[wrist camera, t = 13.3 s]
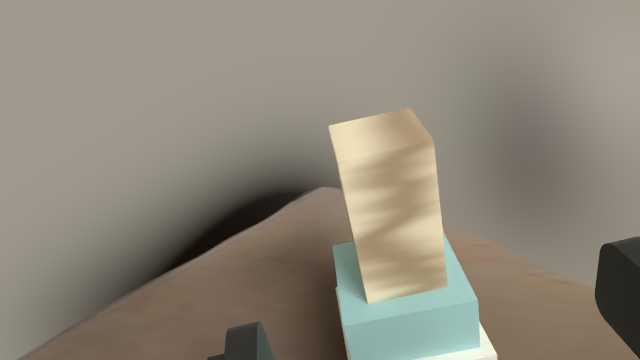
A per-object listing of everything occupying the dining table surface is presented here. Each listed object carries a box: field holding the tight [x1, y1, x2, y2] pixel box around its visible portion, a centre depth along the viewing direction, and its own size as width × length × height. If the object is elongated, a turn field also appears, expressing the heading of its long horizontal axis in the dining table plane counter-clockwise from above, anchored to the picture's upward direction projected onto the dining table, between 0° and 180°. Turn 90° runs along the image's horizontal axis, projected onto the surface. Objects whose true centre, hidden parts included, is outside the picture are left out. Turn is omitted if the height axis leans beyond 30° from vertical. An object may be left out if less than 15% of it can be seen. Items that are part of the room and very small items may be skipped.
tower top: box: [333, 232, 480, 360], centre depth 31 cm, size 8×8×4 cm
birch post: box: [329, 108, 448, 304], centre depth 28 cm, size 5×5×10 cm
